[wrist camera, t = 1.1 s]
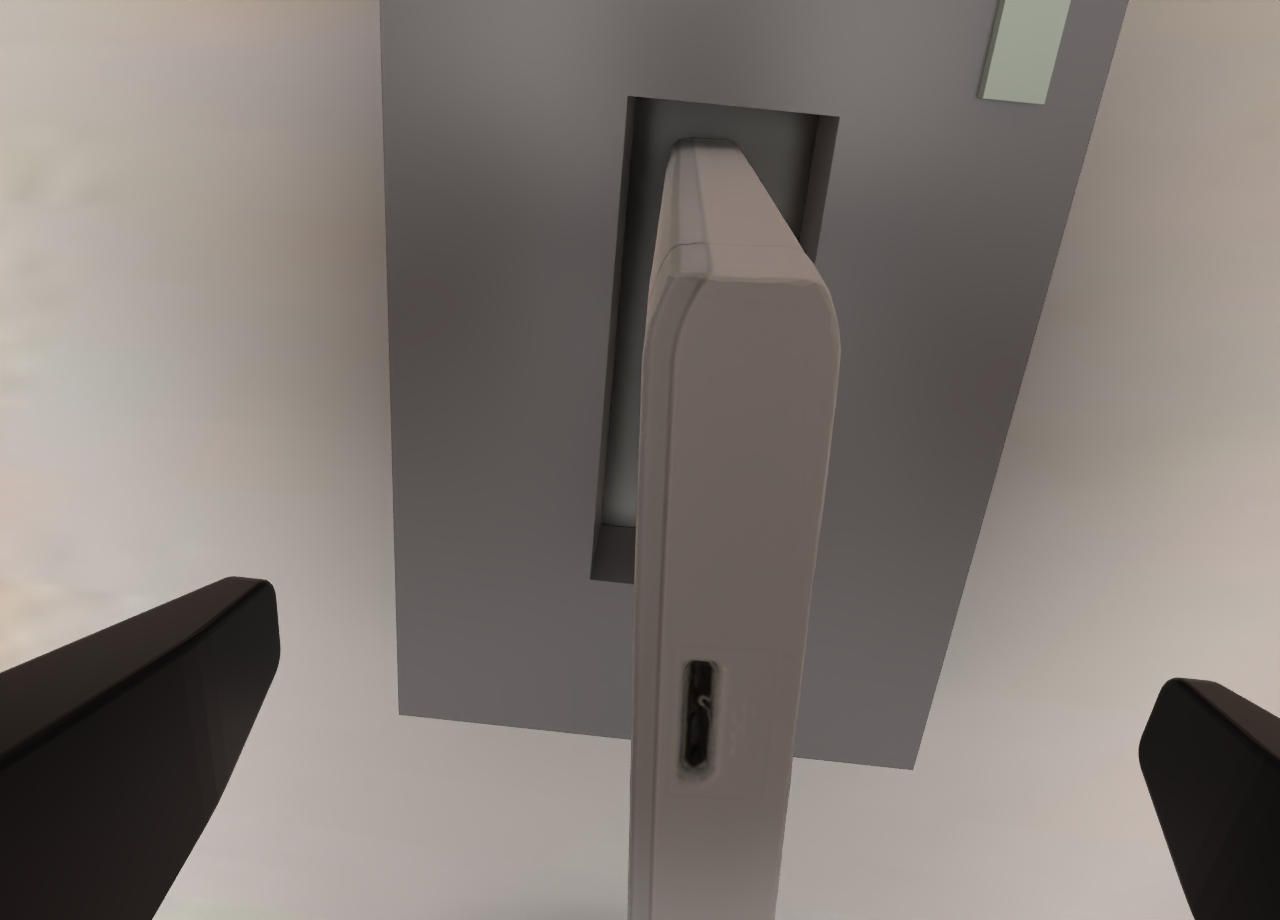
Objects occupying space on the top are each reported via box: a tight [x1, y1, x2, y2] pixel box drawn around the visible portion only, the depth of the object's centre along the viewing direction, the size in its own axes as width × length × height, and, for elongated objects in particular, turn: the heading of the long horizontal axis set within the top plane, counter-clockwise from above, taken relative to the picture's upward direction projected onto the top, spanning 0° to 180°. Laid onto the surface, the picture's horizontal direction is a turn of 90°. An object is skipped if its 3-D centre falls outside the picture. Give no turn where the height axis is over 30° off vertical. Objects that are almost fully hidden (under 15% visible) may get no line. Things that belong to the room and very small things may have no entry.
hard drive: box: [628, 138, 841, 920], centre depth 14 cm, size 2×8×12 cm, turn 179°
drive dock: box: [380, 0, 1129, 770], centre depth 18 cm, size 18×12×3 cm, turn 175°
